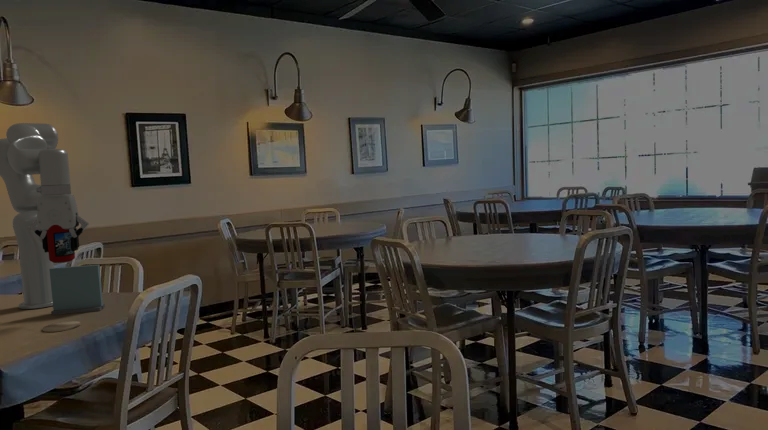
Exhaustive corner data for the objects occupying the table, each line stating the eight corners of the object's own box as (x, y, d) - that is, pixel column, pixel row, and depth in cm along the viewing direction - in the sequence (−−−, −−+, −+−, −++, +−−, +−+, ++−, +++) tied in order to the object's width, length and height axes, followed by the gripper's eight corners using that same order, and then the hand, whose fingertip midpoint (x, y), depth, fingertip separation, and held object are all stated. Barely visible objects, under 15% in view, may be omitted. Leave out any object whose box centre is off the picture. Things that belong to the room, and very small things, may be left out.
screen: (58, 311, 178) (53, 267, 177) (105, 307, 180) (101, 263, 179) (51, 314, 173) (46, 269, 172) (99, 310, 175) (95, 266, 174)
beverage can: (63, 263, 164) (60, 222, 163) (43, 263, 165) (40, 223, 164) (80, 259, 171) (77, 220, 170) (61, 259, 172) (57, 220, 171)
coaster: (51, 324, 160) (51, 322, 160) (85, 321, 162) (84, 319, 162) (37, 333, 151) (36, 331, 151) (72, 330, 153) (72, 328, 153)
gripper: (18, 193, 161) (24, 254, 163) (83, 190, 164) (88, 251, 165) (30, 191, 168) (35, 250, 170) (92, 189, 171) (97, 247, 173)
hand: (61, 250), depth 168 cm, fingers closed on beverage can, 6 cm apart
